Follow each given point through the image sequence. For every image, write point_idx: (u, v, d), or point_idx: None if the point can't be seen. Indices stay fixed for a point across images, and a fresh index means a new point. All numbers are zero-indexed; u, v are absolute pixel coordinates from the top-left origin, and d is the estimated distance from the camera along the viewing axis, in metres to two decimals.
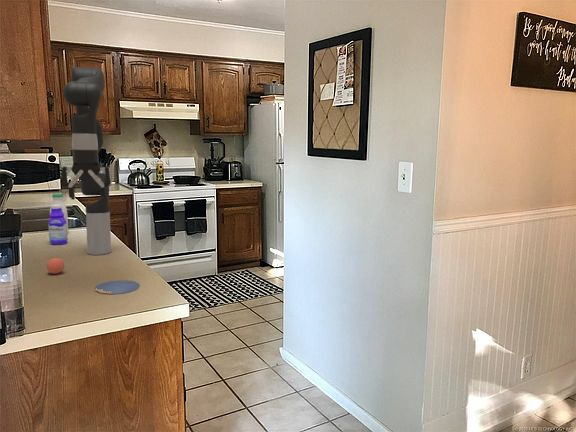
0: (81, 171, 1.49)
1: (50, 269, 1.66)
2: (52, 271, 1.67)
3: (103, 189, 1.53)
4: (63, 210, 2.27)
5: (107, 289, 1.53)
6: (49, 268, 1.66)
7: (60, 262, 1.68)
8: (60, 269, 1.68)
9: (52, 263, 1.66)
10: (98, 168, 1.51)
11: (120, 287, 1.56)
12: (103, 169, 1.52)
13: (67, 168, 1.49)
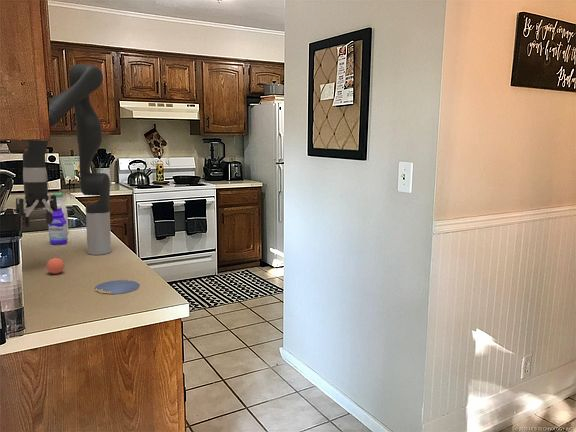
0: None
1: (50, 269, 1.66)
2: (52, 271, 1.67)
3: None
4: (63, 210, 2.27)
5: (107, 289, 1.53)
6: (49, 268, 1.66)
7: (60, 262, 1.68)
8: (60, 269, 1.68)
9: (52, 263, 1.66)
10: None
11: (120, 287, 1.56)
12: None
13: None
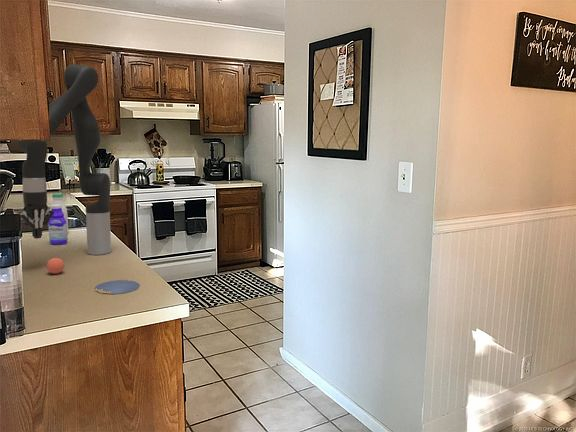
0: None
1: (50, 269, 1.66)
2: (52, 271, 1.67)
3: None
4: (63, 210, 2.27)
5: (107, 289, 1.53)
6: (49, 268, 1.66)
7: (60, 262, 1.68)
8: (60, 269, 1.68)
9: (52, 263, 1.66)
10: None
11: (120, 287, 1.56)
12: None
13: None
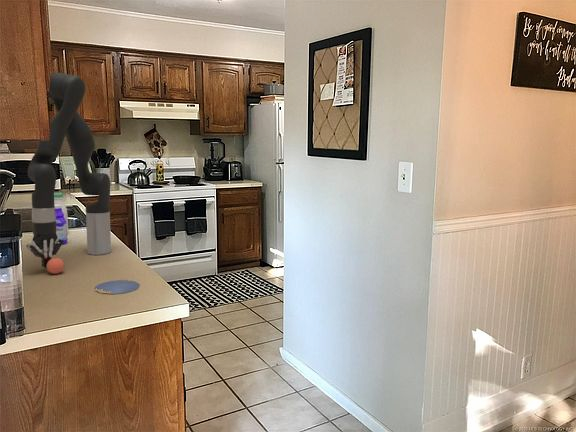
0: None
1: (50, 269, 1.66)
2: (52, 271, 1.67)
3: None
4: (63, 210, 2.27)
5: (107, 289, 1.53)
6: (49, 268, 1.66)
7: (60, 262, 1.68)
8: (60, 269, 1.68)
9: (52, 263, 1.66)
10: None
11: (120, 287, 1.56)
12: None
13: None
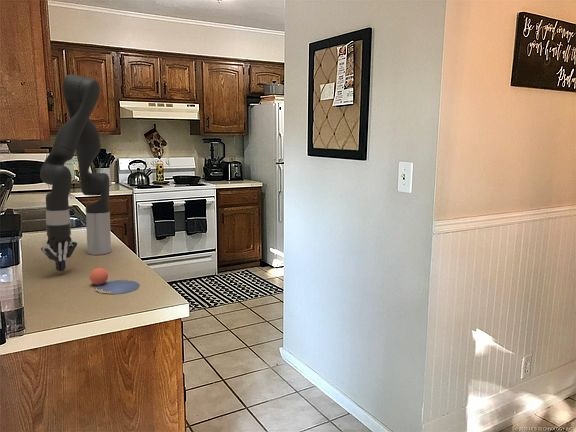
0: None
1: (91, 281, 1.56)
2: (91, 281, 1.57)
3: None
4: None
5: (107, 289, 1.53)
6: (91, 280, 1.56)
7: (104, 282, 1.58)
8: None
9: (97, 281, 1.56)
10: None
11: (120, 287, 1.56)
12: None
13: None
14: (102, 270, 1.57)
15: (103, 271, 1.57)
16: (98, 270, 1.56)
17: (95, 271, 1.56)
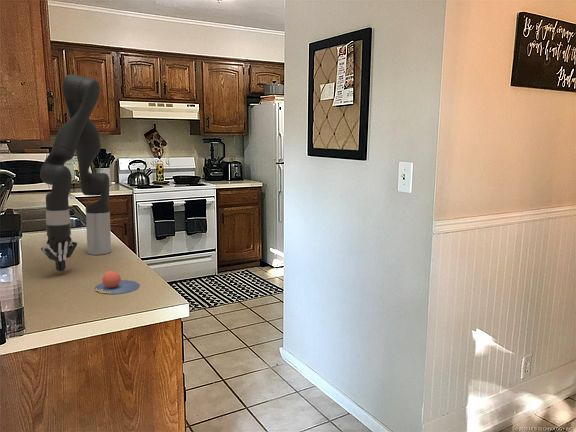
0: None
1: (103, 278, 1.53)
2: (105, 275, 1.53)
3: None
4: None
5: (107, 289, 1.53)
6: (103, 279, 1.53)
7: None
8: None
9: None
10: None
11: (120, 287, 1.56)
12: None
13: None
14: (114, 287, 1.55)
15: None
16: (113, 287, 1.54)
17: (111, 286, 1.53)
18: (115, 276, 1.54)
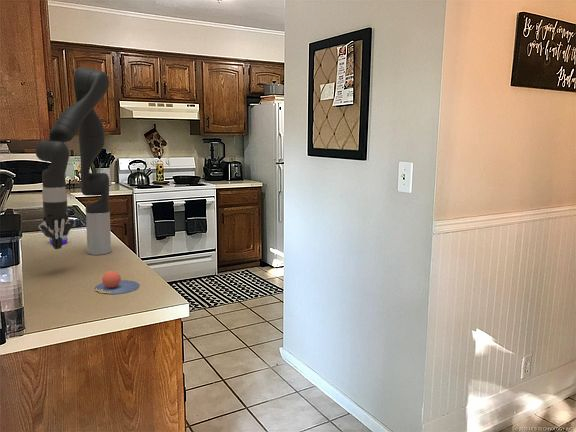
0: None
1: (103, 278, 1.53)
2: (105, 275, 1.53)
3: None
4: None
5: (107, 289, 1.53)
6: (103, 279, 1.53)
7: None
8: None
9: None
10: None
11: (120, 287, 1.56)
12: None
13: None
14: (114, 287, 1.55)
15: None
16: (113, 287, 1.54)
17: (111, 286, 1.53)
18: (115, 276, 1.54)
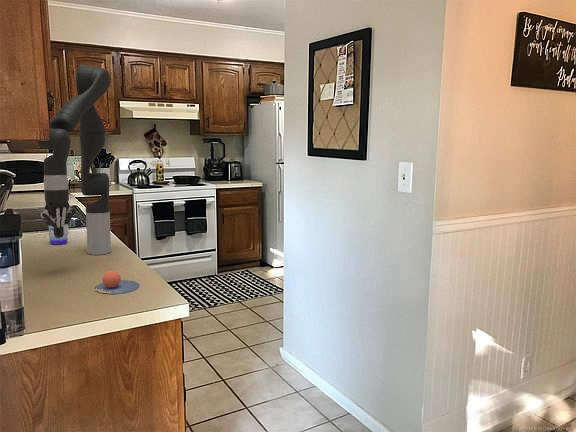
0: None
1: (103, 278, 1.53)
2: (105, 275, 1.53)
3: None
4: None
5: (107, 289, 1.53)
6: (103, 279, 1.53)
7: None
8: None
9: None
10: None
11: (120, 287, 1.56)
12: None
13: None
14: (114, 287, 1.55)
15: None
16: (113, 287, 1.54)
17: (111, 286, 1.53)
18: (115, 276, 1.54)
